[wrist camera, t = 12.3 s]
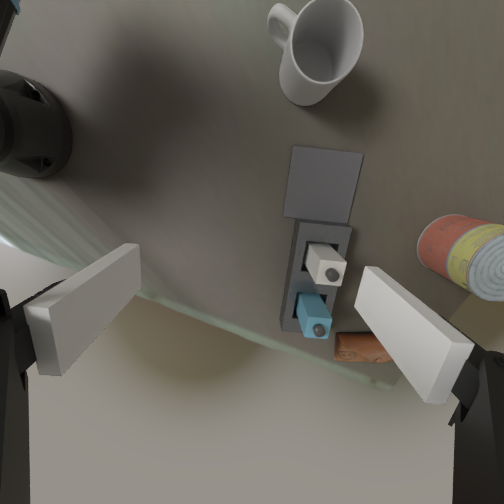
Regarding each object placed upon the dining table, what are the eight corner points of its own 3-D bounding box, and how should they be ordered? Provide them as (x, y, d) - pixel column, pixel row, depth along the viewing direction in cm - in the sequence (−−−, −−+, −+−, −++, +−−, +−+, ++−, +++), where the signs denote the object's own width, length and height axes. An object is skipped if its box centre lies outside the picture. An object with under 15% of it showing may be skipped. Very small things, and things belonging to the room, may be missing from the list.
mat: (282, 216, 45) (282, 216, 45) (292, 145, 41) (293, 145, 41) (346, 222, 46) (347, 223, 45) (362, 153, 42) (363, 153, 41)
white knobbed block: (302, 260, 47) (317, 287, 37) (306, 240, 46) (322, 262, 36) (323, 262, 48) (343, 289, 37) (327, 242, 46) (349, 265, 36)
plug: (294, 305, 51) (305, 341, 40) (297, 288, 49) (309, 321, 39) (313, 306, 51) (329, 343, 40) (316, 289, 50) (334, 323, 39)
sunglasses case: (332, 362, 56) (342, 370, 50) (329, 330, 58) (338, 334, 51) (411, 359, 56) (431, 367, 50) (406, 327, 58) (425, 331, 51)
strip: (320, 322, 53) (326, 334, 49) (279, 319, 52) (281, 331, 49) (343, 222, 46) (352, 227, 42) (296, 217, 45) (300, 222, 42)
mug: (345, 67, 38) (381, 30, 27) (309, 118, 40) (330, 101, 30) (283, 9, 35) (297, -55, 25) (249, 67, 38) (248, 29, 27)
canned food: (415, 274, 49) (464, 306, 38) (417, 219, 46) (472, 237, 34) (473, 265, 49) (540, 295, 37) (480, 209, 45) (558, 223, 34)
